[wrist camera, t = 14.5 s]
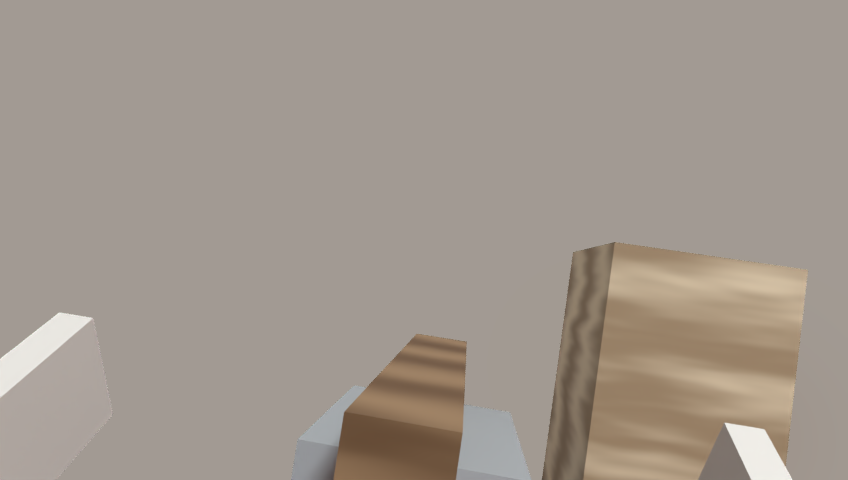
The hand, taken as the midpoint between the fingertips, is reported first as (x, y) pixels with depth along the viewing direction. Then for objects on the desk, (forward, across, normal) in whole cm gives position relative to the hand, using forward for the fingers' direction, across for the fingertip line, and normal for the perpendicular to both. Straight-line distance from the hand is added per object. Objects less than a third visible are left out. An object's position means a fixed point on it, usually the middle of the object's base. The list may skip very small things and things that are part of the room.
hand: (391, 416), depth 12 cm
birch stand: (+10, +14, -33) cm, 37 cm away
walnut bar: (+11, 0, -12) cm, 17 cm away
